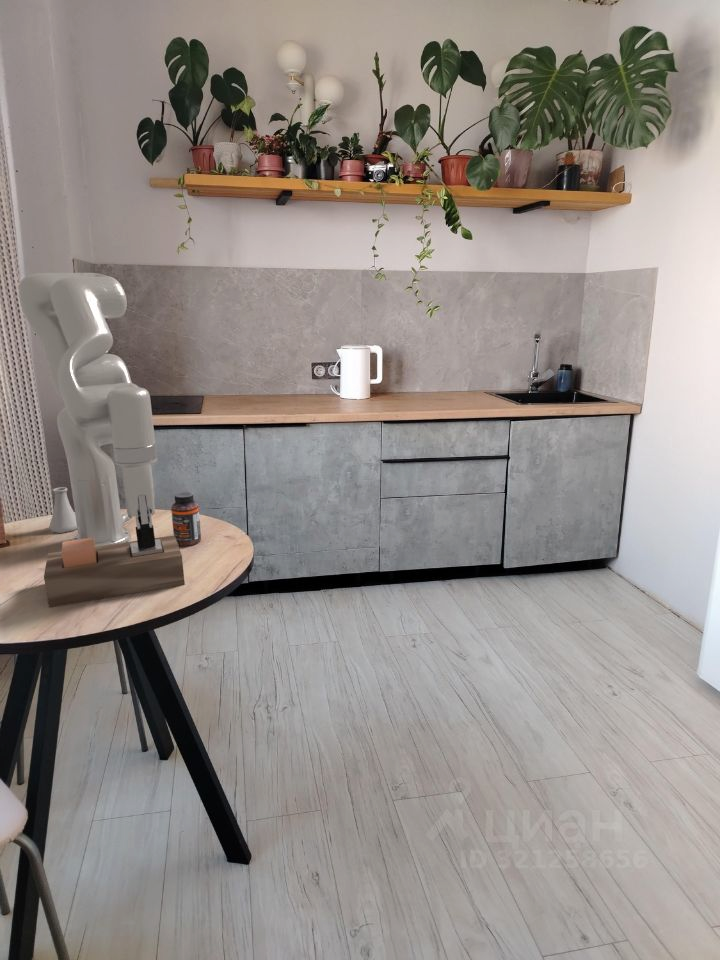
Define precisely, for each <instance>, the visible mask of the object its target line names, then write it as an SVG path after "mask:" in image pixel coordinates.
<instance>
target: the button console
mask: <svg viewBox="0 0 720 960" xmlns="http://www.w3.org/2000/svg"><path fill="white" fill-rule="evenodd" d="M156 539H160V542H161V546H162V550H163V553H159V554H152V555H145V556H139V557H132V553H131V545H130V543H136V542H137V540H133V541H127V542H124V543H117V544H110V545H103V546H96V554H97V562H98V563H93V564H86V565H79V566H73V567H66V568H64V564H63V558H62V550H61V551H56V552H48V553H47V555H46V561H45V568H44V574H43V580H44V586H45V593H46V599H47V604H48V608H53V607H59V606H65V605H71V604H78V603H83V602H88V601H89V602H90V601H95V600H102V599H106V598H107V599H108V598H113V597H118V596H125V595H130V594H135V593H142V592H147V591H153V590H154V591H155V590H160V589H165V588H171V587H172V588H173V587H177V586H183V585H186V584H185V582H186V581H185V574H184V563H183V555H182V552H181V549H180V547H179V546H180V545H178V543H177V541H176V538H175V535H174V534H173V535H168V536H167V535H166V536H159V537H155V540H156Z"/></svg>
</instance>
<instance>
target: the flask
mask: <svg viewBox="0 0 720 960" xmlns="http://www.w3.org/2000/svg"><path fill="white" fill-rule="evenodd" d="M52 492H53V494H54V506H53V510H52V516H51V519H50V523H49V527H48V530H49V531H50V532H51V533H56V534H57V533H58V534H61V533H66V532H73V531H77V523H76V516H75V510H73V508H72V506H71V504H70V501H69V498H68V495H67V494H68V493H67V492H68V488H67V487H66V486H65V487H64V486H61V487H55V488H52Z"/></svg>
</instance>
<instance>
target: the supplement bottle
mask: <svg viewBox="0 0 720 960" xmlns="http://www.w3.org/2000/svg"><path fill="white" fill-rule="evenodd" d="M174 501H175V502H174V503H173V504H172V505H171V508H170V509H171V510H170V511H171V521H172V530H173V531H172V532H173V535H175V538H176V541H177V543H178V546H182V547H188V546H194V545H196V544H199V543H200V542H201V540H202V533H201V532H202V531H201V519H200V511H199V509H200V508H199V503H198V502H196V501H195V500H194V493H193V492H191V491H181V492H178V493H175V494H174Z"/></svg>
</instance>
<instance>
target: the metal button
mask: <svg viewBox="0 0 720 960" xmlns="http://www.w3.org/2000/svg"><path fill="white" fill-rule="evenodd" d="M130 545H131V553H132V557H139V556H145V555H152V554H159V553H163V550H162V546H161V542H160V539H156V540H155V546H154V547H148V548H142V549H139V548H138V543H137V542H136V543H130Z"/></svg>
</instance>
